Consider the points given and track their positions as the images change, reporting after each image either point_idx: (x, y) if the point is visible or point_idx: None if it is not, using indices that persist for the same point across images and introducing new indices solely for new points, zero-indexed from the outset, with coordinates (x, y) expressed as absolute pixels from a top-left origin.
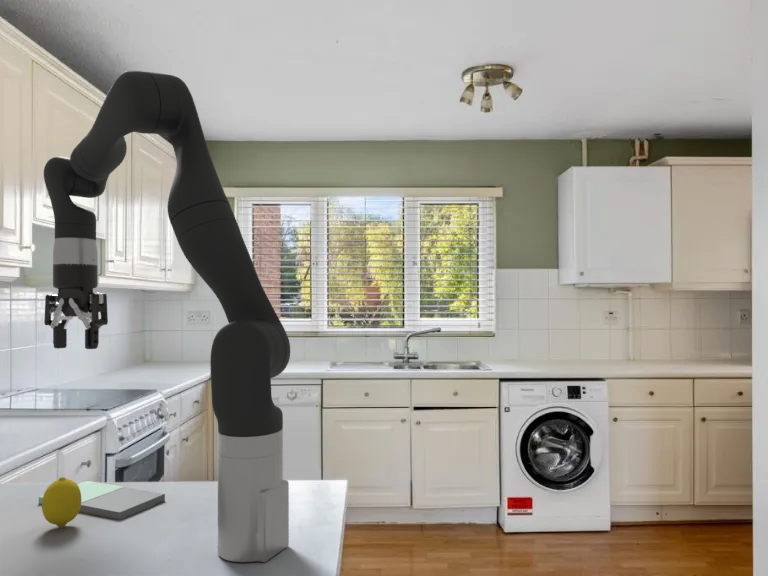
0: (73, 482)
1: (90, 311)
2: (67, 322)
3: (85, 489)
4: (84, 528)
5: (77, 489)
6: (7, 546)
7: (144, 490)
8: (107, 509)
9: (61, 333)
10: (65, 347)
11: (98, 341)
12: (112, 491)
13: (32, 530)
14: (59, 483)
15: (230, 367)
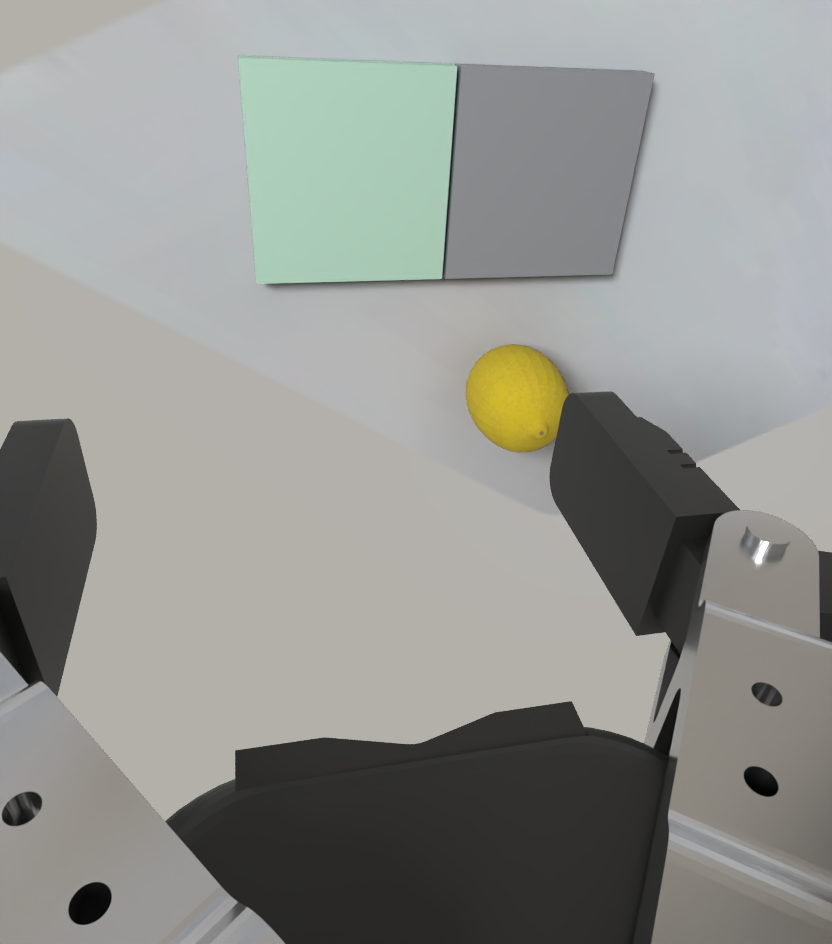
0: (559, 405)
1: (722, 755)
2: (6, 666)
3: (337, 155)
4: (553, 345)
5: (567, 394)
6: (467, 475)
7: (561, 71)
8: (563, 272)
9: (46, 594)
10: (72, 422)
11: (674, 442)
12: (451, 129)
13: (440, 406)
14: (545, 442)
15: None
